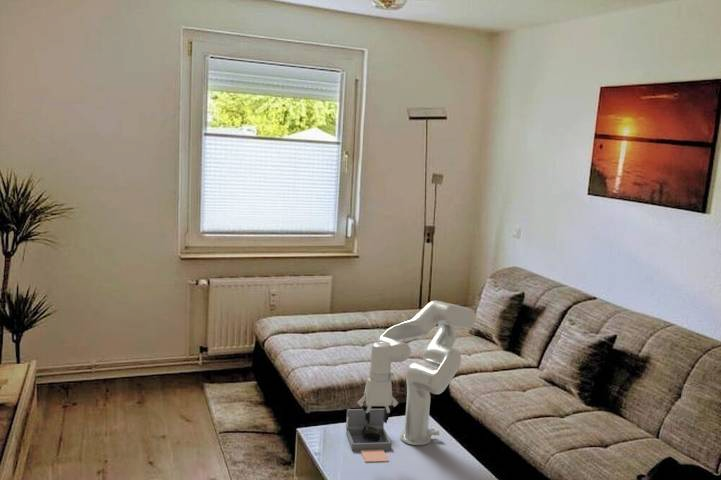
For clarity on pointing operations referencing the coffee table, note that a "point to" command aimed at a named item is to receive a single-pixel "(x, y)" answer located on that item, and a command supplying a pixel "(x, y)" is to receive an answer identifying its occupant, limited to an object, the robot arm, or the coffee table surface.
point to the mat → (374, 455)
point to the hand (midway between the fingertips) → (376, 421)
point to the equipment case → (358, 422)
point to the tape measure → (371, 433)
